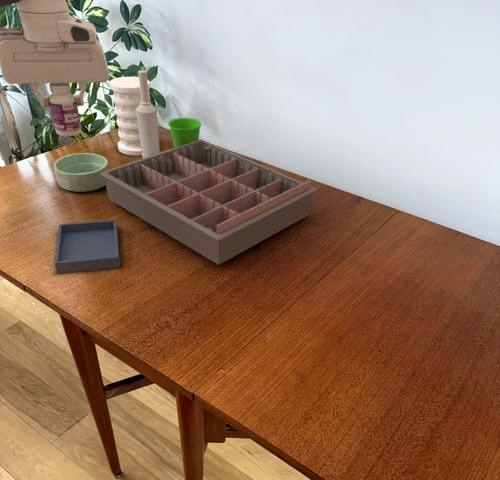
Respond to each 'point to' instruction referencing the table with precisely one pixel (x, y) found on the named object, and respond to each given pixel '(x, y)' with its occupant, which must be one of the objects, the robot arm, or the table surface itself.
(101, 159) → the bowl
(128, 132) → the decorative container
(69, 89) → the pill bottle
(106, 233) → the tray
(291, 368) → the table surface
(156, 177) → the organizer tray
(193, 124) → the cup
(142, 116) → the bottle
